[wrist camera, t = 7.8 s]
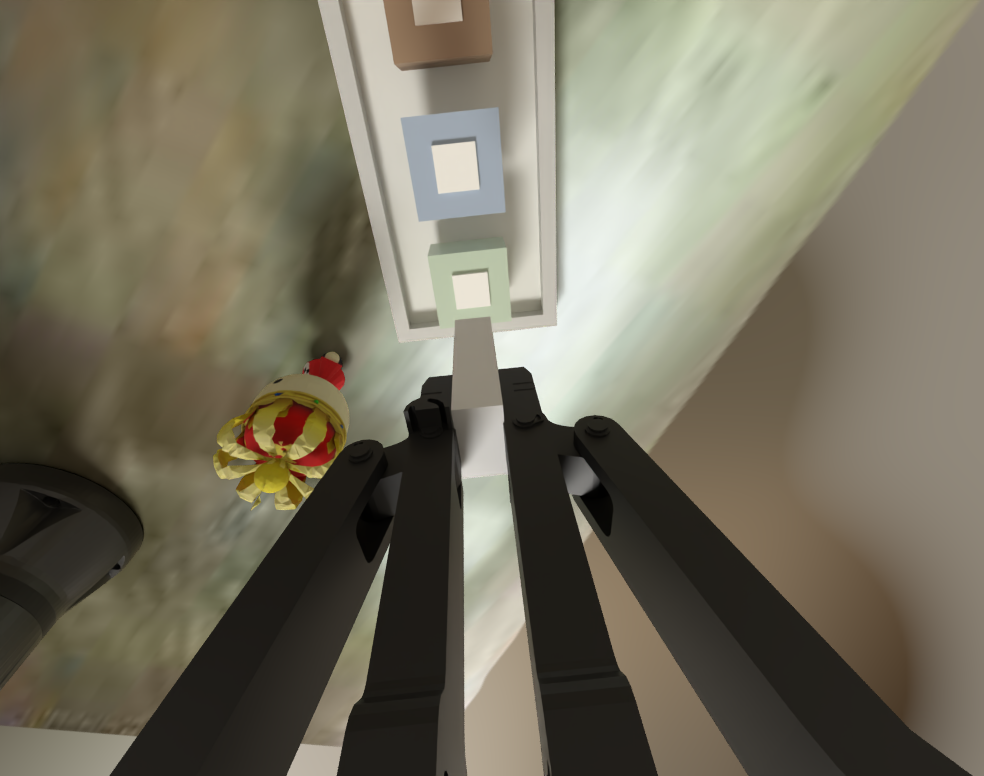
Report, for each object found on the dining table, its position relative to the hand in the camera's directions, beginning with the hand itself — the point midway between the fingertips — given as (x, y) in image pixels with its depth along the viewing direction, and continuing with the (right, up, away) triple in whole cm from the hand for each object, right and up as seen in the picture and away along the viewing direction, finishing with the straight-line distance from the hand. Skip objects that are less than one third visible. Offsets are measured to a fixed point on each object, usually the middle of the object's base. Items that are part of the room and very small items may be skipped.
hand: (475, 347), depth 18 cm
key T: (-2, +18, +3) cm, 18 cm away
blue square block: (-1, +11, +6) cm, 13 cm away
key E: (-1, +6, +11) cm, 12 cm away
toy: (-13, 0, +16) cm, 21 cm away
